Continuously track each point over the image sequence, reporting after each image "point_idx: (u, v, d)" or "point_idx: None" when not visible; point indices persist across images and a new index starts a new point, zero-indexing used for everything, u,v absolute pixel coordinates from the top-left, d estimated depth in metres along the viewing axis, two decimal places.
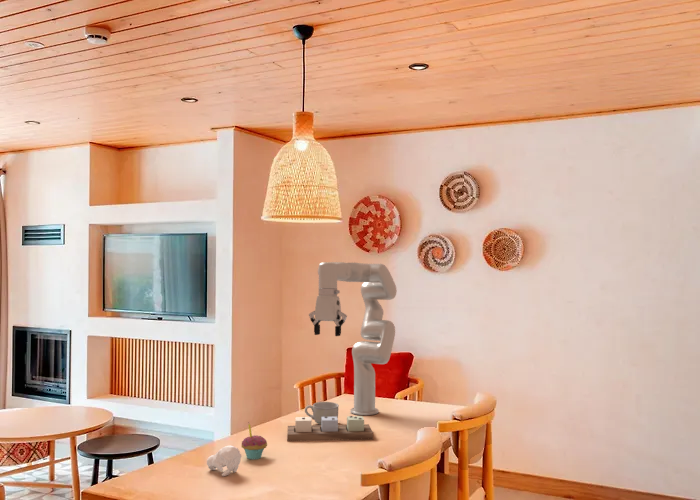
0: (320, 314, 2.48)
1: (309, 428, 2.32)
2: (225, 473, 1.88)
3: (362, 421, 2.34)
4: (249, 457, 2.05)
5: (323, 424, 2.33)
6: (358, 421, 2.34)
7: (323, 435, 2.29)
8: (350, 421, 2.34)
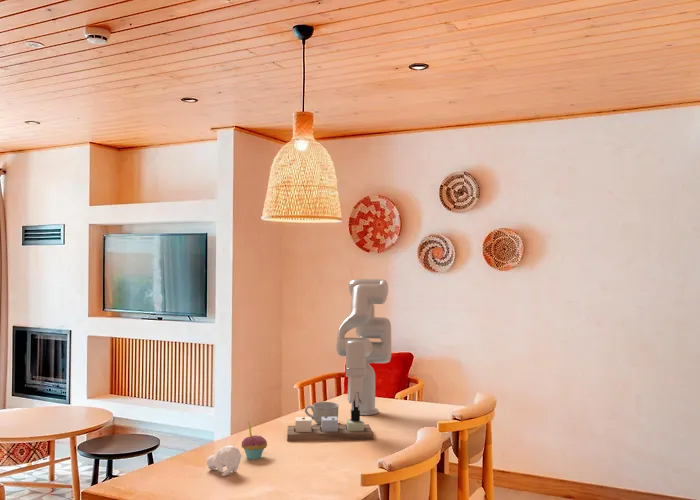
0: None
1: (309, 428, 2.32)
2: (225, 473, 1.88)
3: (362, 424, 2.34)
4: (249, 457, 2.05)
5: (323, 424, 2.33)
6: (358, 424, 2.34)
7: (323, 435, 2.29)
8: (350, 425, 2.34)
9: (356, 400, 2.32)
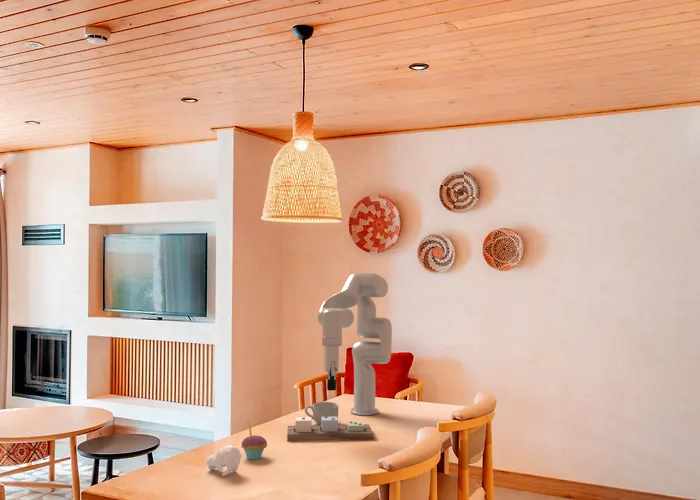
0: None
1: (309, 428, 2.32)
2: (225, 473, 1.88)
3: (362, 427, 2.34)
4: (249, 457, 2.05)
5: (323, 424, 2.33)
6: (358, 427, 2.34)
7: (323, 435, 2.29)
8: (350, 427, 2.33)
9: (332, 369, 2.32)
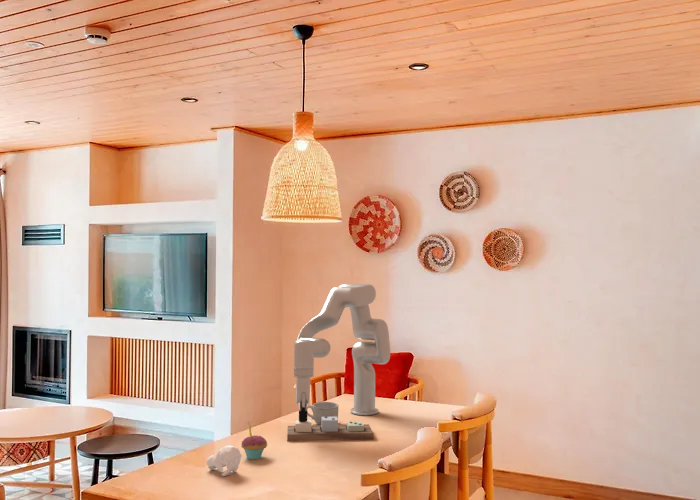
0: (309, 396, 2.33)
1: (309, 431, 2.32)
2: (225, 473, 1.88)
3: (362, 427, 2.34)
4: (249, 457, 2.05)
5: (323, 424, 2.33)
6: (358, 427, 2.34)
7: (323, 435, 2.29)
8: (350, 427, 2.33)
9: (303, 400, 2.30)
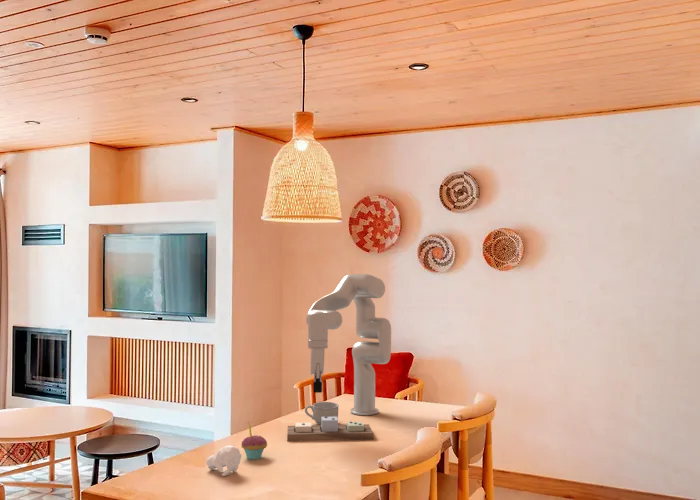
0: None
1: None
2: (225, 473, 1.88)
3: (362, 427, 2.34)
4: (249, 457, 2.05)
5: (323, 424, 2.33)
6: (358, 427, 2.34)
7: (323, 435, 2.29)
8: (350, 427, 2.33)
9: (317, 371, 2.31)
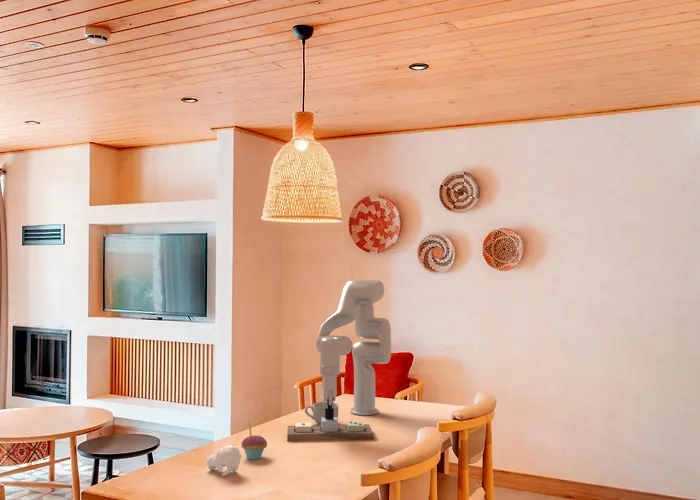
0: None
1: None
2: (225, 473, 1.88)
3: (362, 427, 2.34)
4: (249, 457, 2.05)
5: (323, 425, 2.33)
6: (358, 427, 2.34)
7: (323, 435, 2.29)
8: (350, 427, 2.33)
9: (329, 398, 2.31)
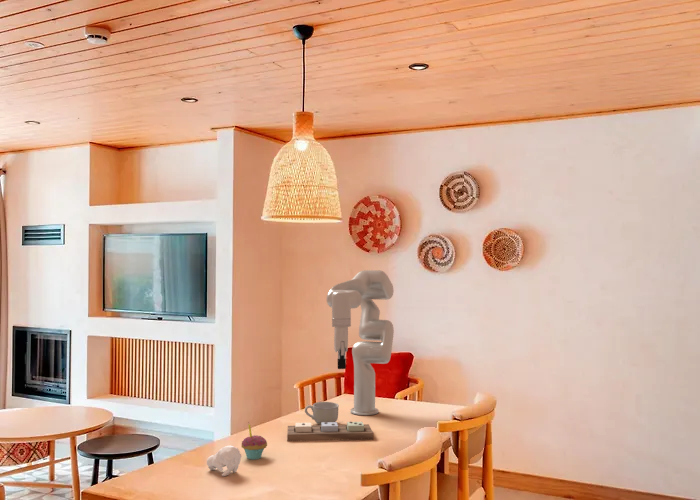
0: None
1: None
2: (225, 473, 1.88)
3: (362, 427, 2.34)
4: (249, 457, 2.05)
5: (323, 430, 2.33)
6: (358, 427, 2.34)
7: (323, 435, 2.29)
8: (350, 427, 2.33)
9: (342, 349, 2.41)
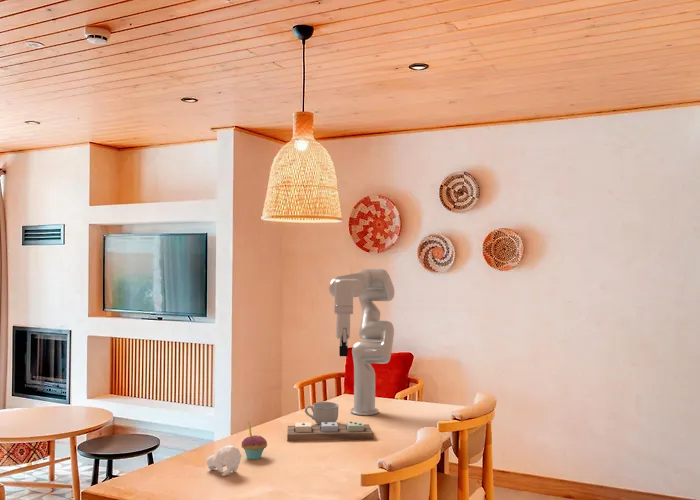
0: None
1: None
2: (225, 473, 1.88)
3: (362, 427, 2.34)
4: (249, 457, 2.05)
5: (323, 430, 2.33)
6: (358, 427, 2.34)
7: (323, 435, 2.29)
8: (350, 427, 2.33)
9: (344, 335, 2.42)
